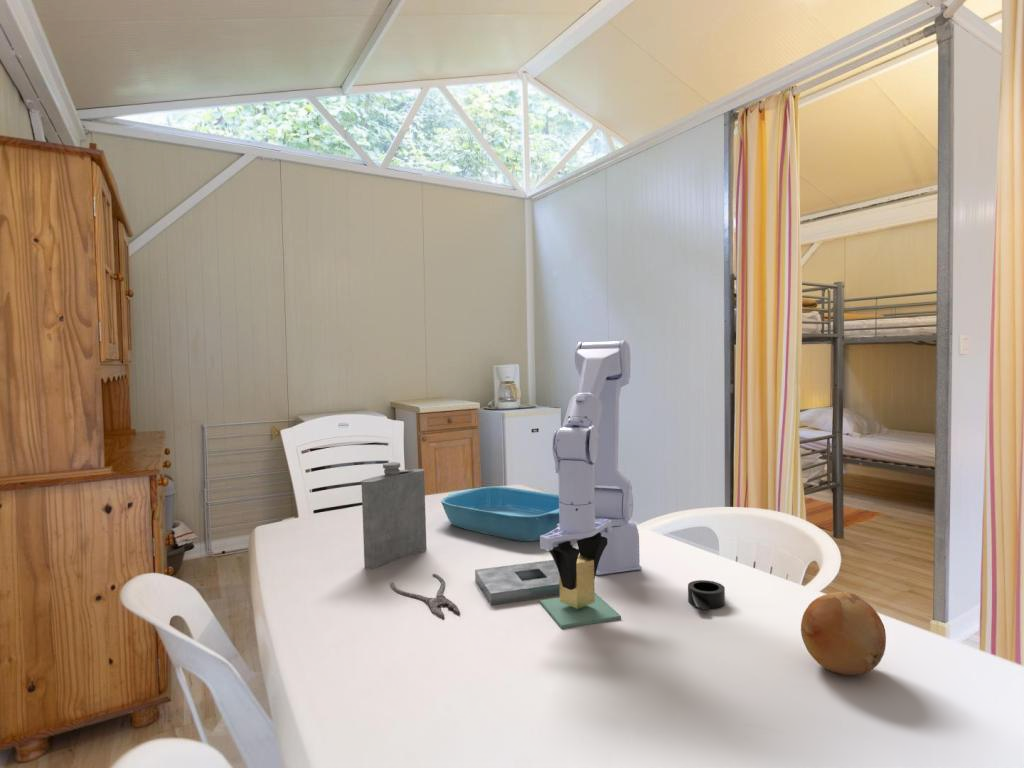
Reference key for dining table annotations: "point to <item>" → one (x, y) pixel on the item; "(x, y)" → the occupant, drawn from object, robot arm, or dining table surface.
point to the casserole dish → (504, 512)
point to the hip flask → (393, 515)
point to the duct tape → (706, 594)
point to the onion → (843, 633)
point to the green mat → (579, 612)
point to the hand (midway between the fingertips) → (578, 584)
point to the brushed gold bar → (580, 585)
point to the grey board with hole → (519, 582)
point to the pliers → (433, 599)
